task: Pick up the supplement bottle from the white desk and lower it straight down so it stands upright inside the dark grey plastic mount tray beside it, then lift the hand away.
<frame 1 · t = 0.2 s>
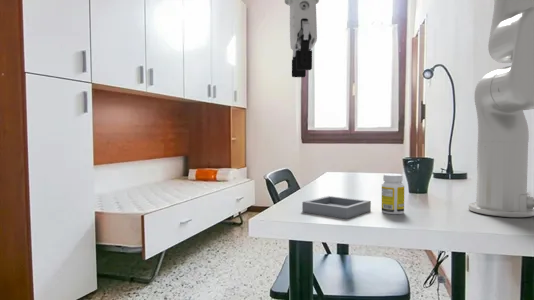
hand: (301, 73, 84), 31 cm above the table, tool pointing down, fingers open, 9 cm apart
supplement bottle: (392, 213, 84), on the table
mount tray: (336, 211, 85), on the table
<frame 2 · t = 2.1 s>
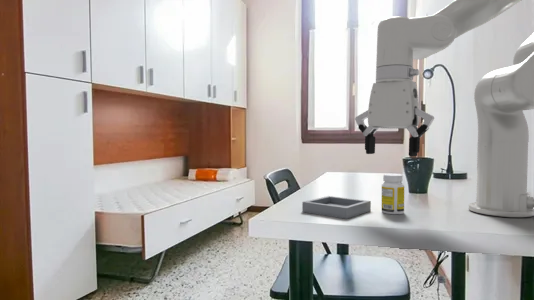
hand: (390, 154, 84), 13 cm above the table, tool pointing down, fingers open, 9 cm apart
nothing on the table moved.
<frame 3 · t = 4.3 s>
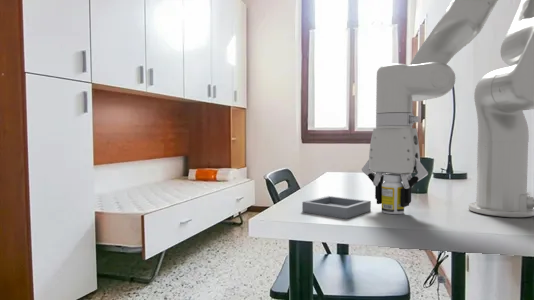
hand: (392, 203, 84), 2 cm above the table, tool pointing down, fingers closed on supplement bottle, 4 cm apart
supplement bottle: (392, 213, 84), on the table, touching gripper
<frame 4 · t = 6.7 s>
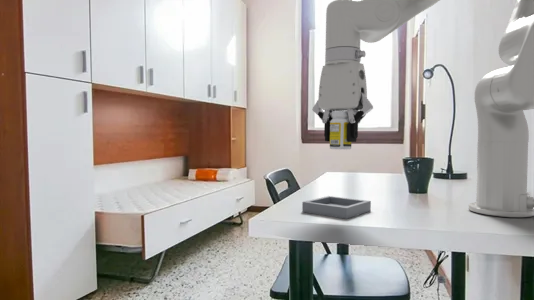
hand: (340, 140, 85), 16 cm above the table, tool pointing down, fingers closed on supplement bottle, 4 cm apart
supplement bottle: (340, 150, 85), point 14 cm above the table, touching gripper
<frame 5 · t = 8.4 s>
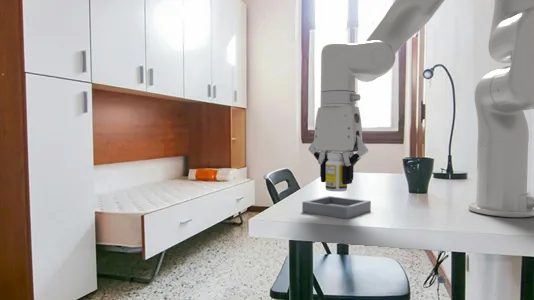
hand: (336, 181, 85), 7 cm above the table, tool pointing down, fingers closed on supplement bottle, 4 cm apart
supplement bottle: (336, 191, 85), point 5 cm above the table, touching gripper
when the fingers open (4 cm above the table, at t = 9.4 s): supplement bottle stays where it is, resting on mount tray.
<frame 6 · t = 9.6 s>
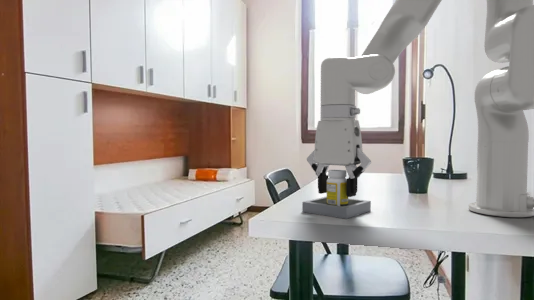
hand: (336, 193, 85), 4 cm above the table, tool pointing down, fingers open, 6 cm apart
supplement bottle: (337, 208, 85), point 1 cm above the table, touching mount tray
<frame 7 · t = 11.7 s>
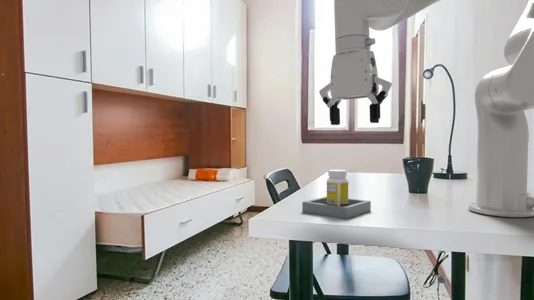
hand: (354, 123, 86), 20 cm above the table, tool pointing down, fingers open, 9 cm apart
nothing on the table moved.
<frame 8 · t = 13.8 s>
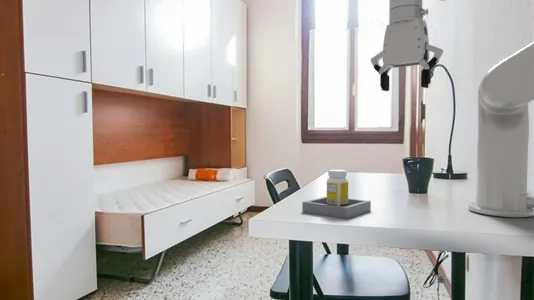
hand: (404, 89, 93), 28 cm above the table, tool pointing down, fingers open, 9 cm apart
nothing on the table moved.
at the end: supplement bottle 0.1 cm off-centre on the mount tray, point 0.6 cm above the mount tray's base; supplement bottle tilted 0°; the gripper is holding nothing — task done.
